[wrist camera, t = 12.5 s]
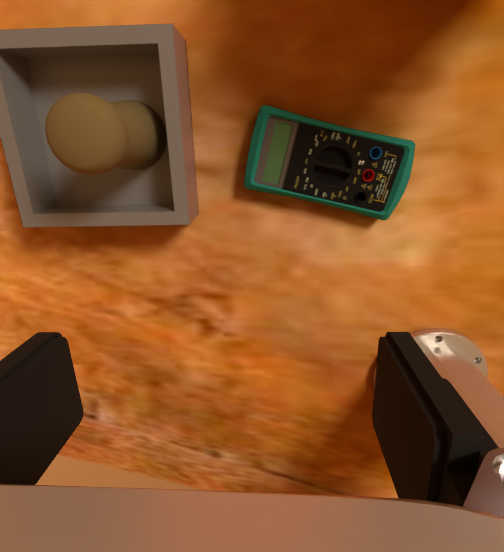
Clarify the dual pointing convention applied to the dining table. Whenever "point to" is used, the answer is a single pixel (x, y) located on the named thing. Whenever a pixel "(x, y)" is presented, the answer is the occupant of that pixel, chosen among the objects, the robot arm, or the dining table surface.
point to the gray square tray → (111, 87)
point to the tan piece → (104, 134)
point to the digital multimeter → (327, 163)
